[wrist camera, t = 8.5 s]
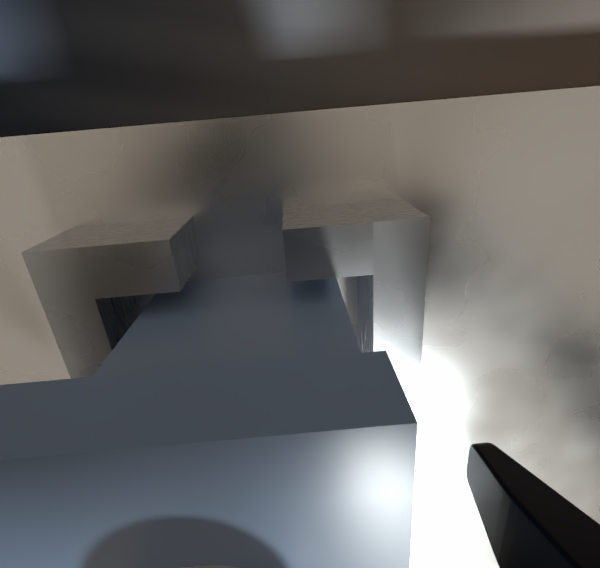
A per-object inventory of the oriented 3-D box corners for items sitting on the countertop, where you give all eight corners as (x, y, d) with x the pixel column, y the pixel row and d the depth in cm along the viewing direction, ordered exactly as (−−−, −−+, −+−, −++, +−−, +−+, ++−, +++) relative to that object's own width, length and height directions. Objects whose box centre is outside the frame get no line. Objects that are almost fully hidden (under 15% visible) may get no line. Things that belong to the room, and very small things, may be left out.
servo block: (344, 500, 12) (405, 888, 6) (220, 511, 12) (153, 910, 6) (331, 226, 8) (449, 494, 2) (154, 242, 8) (-190, 551, 2)
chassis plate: (621, 532, 15) (691, 619, 12) (115, 576, 15) (79, 672, 12) (807, 69, 8) (1040, 43, 6) (-81, 145, 8) (-244, 154, 6)
